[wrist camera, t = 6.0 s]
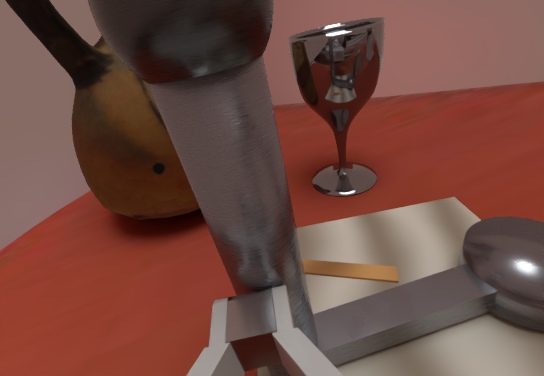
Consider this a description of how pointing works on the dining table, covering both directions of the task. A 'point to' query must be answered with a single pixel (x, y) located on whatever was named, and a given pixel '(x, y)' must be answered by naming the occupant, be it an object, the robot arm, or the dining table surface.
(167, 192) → the ceramic pitcher
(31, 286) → the dining table surface
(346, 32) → the silver goblet
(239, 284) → the lever
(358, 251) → the beige square panel
